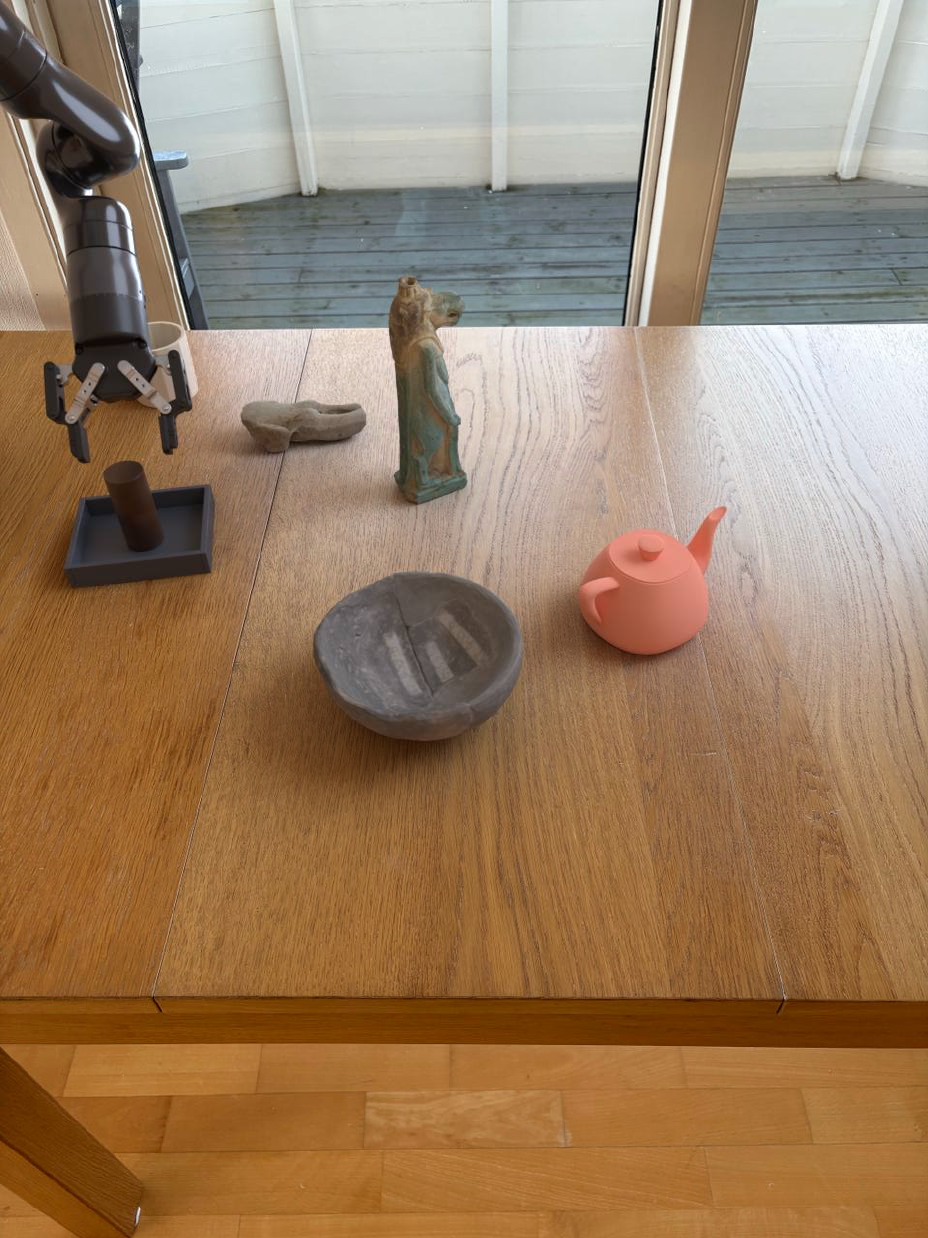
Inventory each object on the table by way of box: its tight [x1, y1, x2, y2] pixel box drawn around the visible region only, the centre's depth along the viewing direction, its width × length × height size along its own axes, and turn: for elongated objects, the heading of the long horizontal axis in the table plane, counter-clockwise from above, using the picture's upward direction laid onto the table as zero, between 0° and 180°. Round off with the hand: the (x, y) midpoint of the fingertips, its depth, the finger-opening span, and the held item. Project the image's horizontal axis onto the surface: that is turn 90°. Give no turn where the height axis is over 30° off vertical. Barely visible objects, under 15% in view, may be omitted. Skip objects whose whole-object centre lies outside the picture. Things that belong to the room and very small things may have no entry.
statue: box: [388, 275, 468, 505], centre depth 101 cm, size 7×8×25 cm
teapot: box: [577, 505, 728, 656], centre depth 90 cm, size 12×18×10 cm
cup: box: [137, 320, 199, 409], centre depth 123 cm, size 8×8×8 cm
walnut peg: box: [102, 459, 164, 552], centre depth 99 cm, size 4×4×9 cm
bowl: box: [312, 571, 524, 742], centre depth 83 cm, size 18×18×8 cm
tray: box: [63, 483, 216, 589], centre depth 102 cm, size 14×12×3 cm
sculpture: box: [240, 399, 367, 453], centre depth 116 cm, size 7×5×15 cm
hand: (126, 457), depth 98 cm, fingers open, 8 cm apart
